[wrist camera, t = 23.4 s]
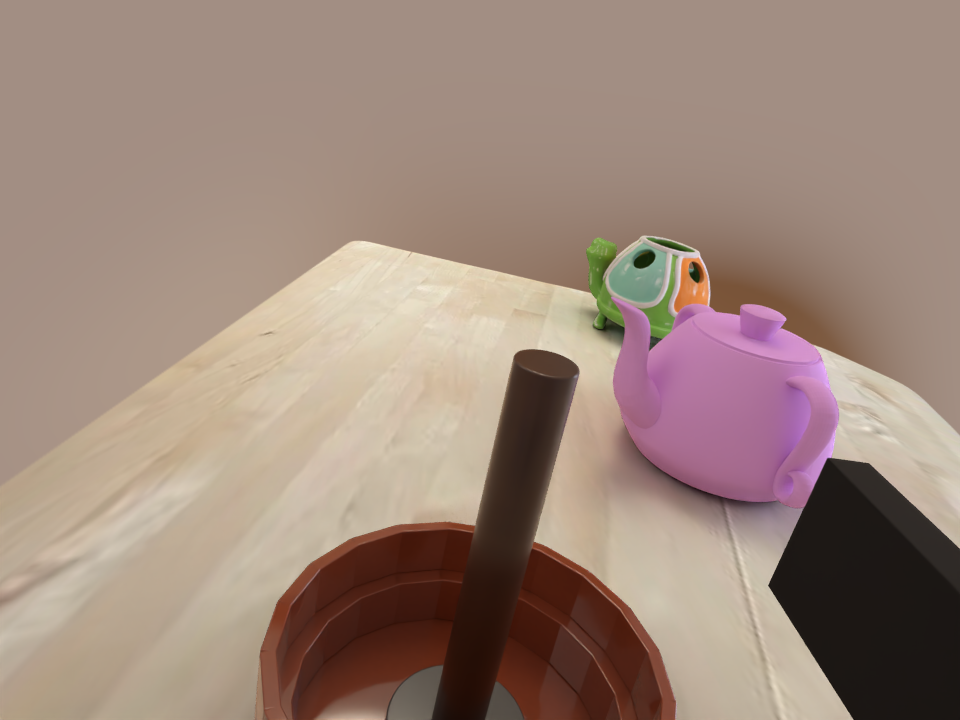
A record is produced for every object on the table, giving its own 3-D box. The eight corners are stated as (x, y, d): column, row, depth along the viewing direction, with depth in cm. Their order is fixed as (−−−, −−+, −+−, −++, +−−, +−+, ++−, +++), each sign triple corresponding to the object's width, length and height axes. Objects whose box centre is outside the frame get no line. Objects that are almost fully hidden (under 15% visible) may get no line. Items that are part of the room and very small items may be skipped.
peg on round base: (400, 826, 26) (493, 406, 19) (370, 692, 31) (434, 322, 24) (543, 794, 28) (674, 408, 21) (493, 674, 33) (585, 330, 26)
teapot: (528, 391, 65) (561, 250, 60) (722, 402, 72) (769, 275, 66) (628, 545, 46) (691, 358, 40) (881, 541, 52) (965, 379, 47)
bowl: (263, 1057, 20) (278, 939, 18) (245, 631, 34) (252, 532, 31) (712, 910, 26) (767, 807, 24) (541, 599, 40) (566, 514, 37)
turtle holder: (608, 299, 98) (631, 217, 94) (714, 352, 86) (746, 260, 81) (546, 305, 91) (567, 216, 86) (652, 363, 78) (684, 262, 74)
